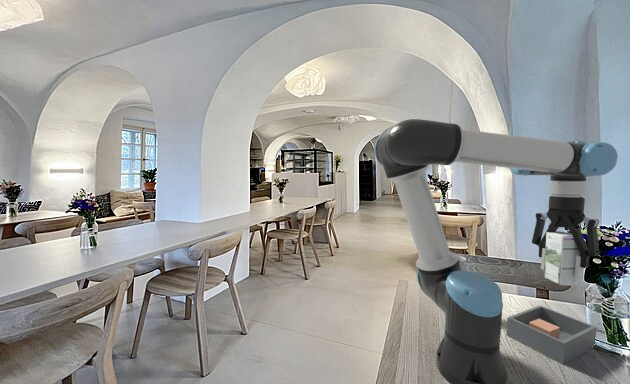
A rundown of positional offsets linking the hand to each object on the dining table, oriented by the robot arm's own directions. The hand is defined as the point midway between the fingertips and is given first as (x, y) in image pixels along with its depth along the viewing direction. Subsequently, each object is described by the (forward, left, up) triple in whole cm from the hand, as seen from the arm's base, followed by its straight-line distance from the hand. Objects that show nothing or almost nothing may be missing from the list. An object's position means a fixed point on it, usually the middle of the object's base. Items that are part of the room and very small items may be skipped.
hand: (561, 273), depth 79 cm
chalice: (-11, +26, -20) cm, 35 cm away
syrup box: (0, 0, -3) cm, 3 cm away
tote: (-4, 0, -20) cm, 20 cm away
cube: (-7, 0, -19) cm, 20 cm away
